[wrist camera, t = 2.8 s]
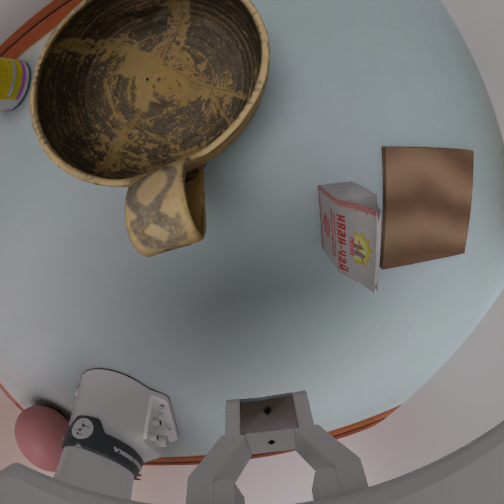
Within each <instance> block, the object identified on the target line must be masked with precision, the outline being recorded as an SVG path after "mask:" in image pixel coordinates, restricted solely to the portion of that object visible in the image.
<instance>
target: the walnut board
mask: <svg viewBox="0 0 504 504" xmlns="http://www.w3.org/2000/svg"><path fill="white" fill-rule="evenodd" d="M473 160H474V151H471V150H462V149H448V148H428V147H382V162H383V219H382V241H381V256H380V267H381V268H382V269H388V268H393V267H399V266H404V265H409V264H414V263H419V262H424V261H429V260H434V259H439V258H444V257H449V256H453V255H458V254H463V253H464V252H465V246H466V240H467V234H468V226H469V219H470V210H471V200H472V186H473Z"/></svg>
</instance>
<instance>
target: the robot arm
mask: <svg viewBox="0 0 504 504" xmlns="http://www.w3.org/2000/svg"><path fill="white" fill-rule="evenodd" d="M75 396H76V400H75V403H74V407H73V410H72V414H71V418H70V422H69V427H68V428H67V431H66V433H65V436H64V437H63V442H62V446H61V447H62V450H63V451H62V454H61V457H60V460H59V463H58V466H57V469H56V472H55V476H54V478H52V477H50V476H47V475H45V474H42V473H40V472H38V471H35V470H33V469H31V468H29V467H27V466H24V465H22V464H20V463H13V464H11V465H9V466H7V467H6V468H4V469H3V470H1V471H0V504H149V503H143V502H137V501H132V500H131V494H132V487H133V481H134V479H135V480H141V479H138V478H136V477H137V476H141V475H140V474H139V472H140V471H141V468H142V466H143V464H144V463H145V462H148V461H150V460H154V459H157V458H159V457H161V456H162V455H163V452H164V447H168V446H169V443H171V442H175V441H177V440H178V437H179V435H178V431H177V428H176V424H175V420H174V416H173V412H172V408H171V404H170V400H169V398H168V397H167V396H166V395H163V394H161V393H158V392H155V391H152V390H150V389H148V388H146V387H145V386H143V385H142V384H140V383H139V382H137V381H135V380H133V379H131V378H129V377H127V376H125V375H122V374H120V373H117V372H113V371H109V370H103V369H94V370H89V371H87V372H85V373H84V374H83V375H82V377H81V380H80V386H79V387H78V388H77V389H76V392H75ZM292 449H295V450H296V451H297V452H298V453H299V454H300V455H301V456H302V457H303V459H304V460H305V461H306V462H308V464H309V465H310V466H311V467H312V468H313V469H314V470H315V471H316V472H315V476H314V482H313V487H312V493H313V499H314V501H310V502H304V503H297V504H504V421H502V422H501V423H500V424H498V425H497V426H495V427H494V428H493V429H491V430H489V431H488V432H486V433H485V434H483V435H482V436H480V437H478V438H477V439H475V440H473V441H472V442H470V443H468V444H467V445H465V446H464V447H461V448H460V449H458V450H456V451H454V452H452V453H450V454H448V455H447V456H445V457H443V458H441V459H439V460H437V461H434V462H432V463H430V464H428V465H426V466H424V467H422V468H419V469H417V470H414V471H412V472H410V473H407V474H405V475H402V476H400V477H397V478H394V479H392V480H389V481H386V482H383V483H380V484H377V485H374V486H371V487H368V483H367V480H366V476H365V473H364V470H363V466H362V463H361V460H360V458H359V457H358V456H357V455H355V454H354V453H353V452H351V451H350V450H349V449H348V448H346V447H345V446H344V445H343V444H341V443H340V442H339V441H337V440H336V439H335V438H334V437H332V436H331V435H330V434H329V433H328V432H326V431H325V430H324V429H323V428H321V427H320V426H319V425H314V423H313V418H312V414H311V410H310V405H309V401H308V397H307V393H306V391H300V392H294V393H292V392H291V393H285V394H279V395H273V396H266V397H259V398H248V399H235V400H227V401H226V420H225V436H221V437H220V439H219V440H218V441H217V442H216V444H215V445H214V446H213V448H212V449H211V450H210V451H209V453H208V454H207V455H206V456H205V458H204V459H203V460H202V461H201V462H200V464H199V465H198V466H197V467H196V469H195V470H194V471H193V472H192V473H191V475H190V476H189V477H188V485H187V497H186V504H245V501H244V496H243V495H242V493H241V492H240V490H239V489H238V488H237V486H236V484H235V482H236V480H237V479H238V477H239V476H240V474H241V472H242V471H243V469H244V467H245V466H246V464H247V463H248V461H249V459H250V458H251V456H252V455H251V454H258V453H267V452H274V451H284V450H292Z"/></svg>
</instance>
